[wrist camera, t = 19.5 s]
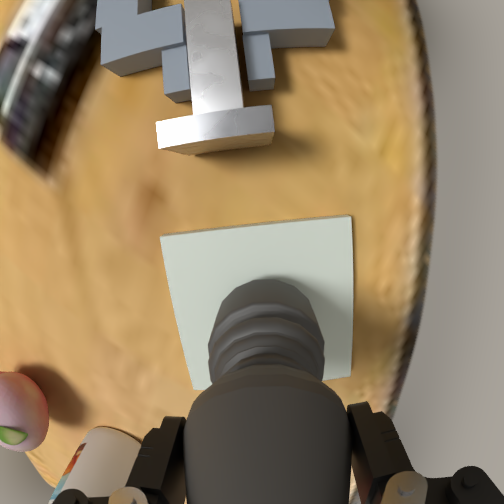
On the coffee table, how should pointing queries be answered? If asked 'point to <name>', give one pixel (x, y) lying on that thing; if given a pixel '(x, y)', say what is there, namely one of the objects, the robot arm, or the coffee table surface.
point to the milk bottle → (100, 463)
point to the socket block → (175, 41)
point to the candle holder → (267, 407)
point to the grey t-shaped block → (215, 89)
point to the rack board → (257, 268)
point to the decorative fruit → (22, 412)
